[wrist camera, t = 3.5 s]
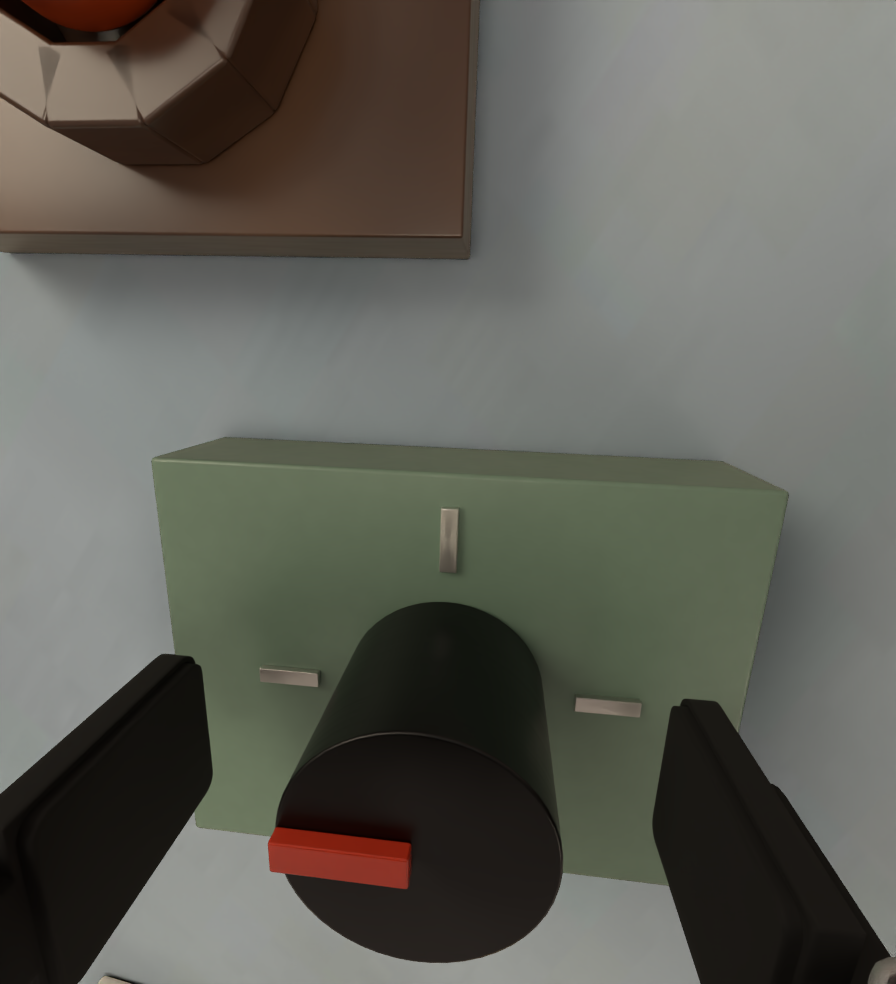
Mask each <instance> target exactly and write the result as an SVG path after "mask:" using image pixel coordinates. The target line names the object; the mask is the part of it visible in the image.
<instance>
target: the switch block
mask: <svg viewBox="0 0 896 984" xmlns="http://www.w3.org/2000/svg"><path fill="white" fill-rule="evenodd" d="M479 10H480V0H159V1H158V2H157V3H156V4H155V5H154V6H153V7H152V8H151V9H150V10H149V11H148V12H147V13H146V14H144V15H143V16H141V17H140V18H139V19H137V20H136V21H134V22H132V23H130V24H128V25H126V26H124V27H121V28H117V29H114V30H111V31H102V32H87V31H80V30H75V29H70V28H67V27H64V26H61V25H59V24H56V23H54V22H52V21H50V20H48V19H47V18H45V17H43V16H41V15H40V14H39V13H37V12H36V11H35V10H33V9H32V8H31V7H29V6H28V5H26V4H25V3H24V2H22V1H21V0H0V252H5V253H71V254H144V255H216V256H289V257H361V258H434V259H468V258H469V257H470V244H471V218H472V192H473V166H474V140H475V114H476V88H477V62H478V36H479Z"/></svg>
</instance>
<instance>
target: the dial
mask: <svg viewBox="0 0 896 984" xmlns="http://www.w3.org/2000/svg"><path fill="white" fill-rule="evenodd" d="M268 852H269V865H270V871H271V872H277V873H285V875H286V877H287V879H288V882H289V883H290V885H291V886H292V888H293V889H294V891H295V893H296V894H297V895H298V897H299V898H300V899H301V900H302V902H303V903H304V904H305V905H306V906H307V908H308V909H309V910H310V911H311V912H313V913H314V914H315V915H316V916H317V917H318V918H319V919H320V920H321V921H322V922H324V923H325V924H326V925H327V926H329V927H330V928H331V929H333V930H334V931H336V932H337V933H339V934H340V935H342V936H344V937H345V938H347V939H349V940H351V941H353V942H355V943H357V944H359V945H361V946H363V947H365V948H368V949H370V950H373V951H375V952H378V953H381V954H384V955H388V956H391V957H395V958H399V959H404V960H410V961H417V962H427V963H450V962H460V961H467V960H472V959H477V958H481V957H484V956H487V955H490V954H493V953H496V952H499V951H501V950H503V949H505V948H507V947H509V946H511V945H513V944H514V943H516V942H518V941H519V940H521V939H522V938H524V937H525V936H526V935H527V934H529V933H530V932H531V931H532V930H533V929H534V928H535V927H537V925H538V924H539V923H540V922H541V921H542V919H543V918H544V917H545V916H546V914H547V913H548V911H549V909H550V908H551V906H552V905H553V903H554V900H555V898H556V895H557V893H558V890H559V888H560V883H561V878H562V874H563V849H562V841H561V833H560V825H559V817H558V808H557V800H556V792H555V784H554V776H553V768H552V759H551V751H550V743H549V735H548V727H547V718H546V710H545V702H544V694H543V686H542V679H541V675H540V671H539V668H538V665H537V663H536V661H535V659H534V656H533V654H532V653H531V651H530V650H529V648H528V647H527V645H526V644H525V643H524V641H523V640H522V639H521V638H520V637H519V636H518V634H516V633H515V632H514V631H513V630H512V629H511V628H510V627H509V626H508V625H506V624H505V623H503V622H502V621H500V620H499V619H498V618H496V617H494V616H492V615H490V614H488V613H487V612H484V611H482V610H479V609H477V608H474V607H471V606H467V605H463V604H458V603H451V602H427V603H419V604H415V605H411V606H407V607H404V608H402V609H399V610H396V611H394V612H393V613H391V614H389V615H387V616H385V617H384V618H382V619H381V620H380V621H378V622H377V623H376V624H375V625H373V626H372V627H371V628H370V629H369V630H368V631H367V633H366V634H365V635H364V636H363V638H362V639H361V640H360V642H359V644H358V646H357V648H356V649H355V651H354V653H353V655H352V657H351V659H350V661H349V663H348V665H347V667H346V669H345V671H344V673H343V675H342V677H341V679H340V681H339V683H338V685H337V687H336V689H335V691H334V693H333V695H332V697H331V699H330V701H329V703H328V705H327V707H326V709H325V711H324V713H323V715H322V717H321V719H320V721H319V723H318V725H317V727H316V729H315V731H314V733H313V735H312V737H311V739H310V741H309V742H308V744H307V746H306V748H305V750H304V752H303V754H302V756H301V758H300V760H299V762H298V764H297V766H296V768H295V770H294V772H293V774H292V776H291V778H290V780H289V782H288V784H287V786H286V788H285V790H284V792H283V794H282V797H281V800H280V803H279V806H278V810H277V815H276V821H275V830H274V832H273V834H272V836H271V838H270V840H269V842H268Z"/></svg>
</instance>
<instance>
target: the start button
mask: <svg viewBox="0 0 896 984" xmlns="http://www.w3.org/2000/svg"><path fill="white" fill-rule="evenodd" d="M21 1H22V2H24V3H25V4H26V5H28V6H29V7H31V8H32V9H33V10H35V11H36V12H37V13H39V14H40V15H41V16H43V17H45V18H47V19H48V20H50V21H52V22H54V23H56V24H59V25H61V26H64V27H67V28H70V29H75V30H80V31H87V32H102V31H111V30H114V29H117V28H121V27H124V26H126V25H128V24H130V23H132V22H134V21H136V20H137V19H139V18H140V17H141V16H143V15H144V14H146V13H147V12H148V11H149V10H150V9H151V8H152V7H153V6H154V5H155V4H156V3H157V2H158V1H159V0H21Z"/></svg>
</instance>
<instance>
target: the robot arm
mask: <svg viewBox="0 0 896 984" xmlns="http://www.w3.org/2000/svg"><path fill="white" fill-rule="evenodd" d="M212 777H213V766H212V757H211V748H210V738H209V729H208V720H207V711H206V701H205V692H204V683H203V674H202V668H201V666H200V665H198V664H196V663H195V660H194V659H193V657H191V656H184V655H173V654H161V655H160V656H158V657H157V658H155V659H154V660H153V661H152V662H151V663H150V664H149V665H147V666H146V667H145V668H144V669H143V670H142V671H141V672H139V673H138V674H137V675H136V676H135V677H134V678H133V679H131V680H130V681H129V682H128V683H127V684H126V685H125V686H123V687H122V688H121V689H120V690H119V691H118V692H117V693H115V694H114V695H113V696H112V697H111V698H110V699H109V700H107V701H106V702H105V703H104V704H103V705H102V706H101V707H99V708H98V709H97V710H96V711H95V712H94V713H93V714H91V715H90V716H89V717H88V718H87V719H86V720H85V721H83V722H82V723H81V724H80V725H79V726H78V727H77V728H75V729H74V730H73V731H72V732H71V733H70V734H69V735H67V736H66V737H65V738H64V739H63V740H62V741H61V742H59V743H58V744H57V745H56V746H55V747H54V748H53V749H51V750H50V751H49V752H48V753H47V754H46V755H45V756H43V757H42V758H41V759H40V760H39V761H38V762H37V763H35V764H34V765H33V766H32V767H31V768H30V769H29V770H27V771H26V772H25V773H24V774H23V775H22V776H21V777H19V778H18V779H17V780H16V781H15V782H14V783H13V784H11V785H10V786H9V787H8V788H7V789H6V790H5V791H3V792H2V793H1V794H0V984H77V983H78V982H80V980H81V979H82V978H83V976H84V975H85V974H86V972H87V971H88V969H89V968H90V966H91V965H92V963H93V962H94V960H95V959H96V957H97V956H98V954H99V953H100V951H101V950H102V948H103V947H104V945H105V944H106V942H107V941H108V939H109V938H110V936H111V935H112V933H113V932H114V930H115V929H116V927H117V926H118V924H119V923H120V921H121V920H122V918H123V917H124V915H125V914H126V912H127V911H128V909H129V908H130V907H131V905H132V904H133V902H134V901H135V899H136V898H137V896H138V895H139V893H140V892H141V890H142V889H143V887H144V886H145V884H146V883H147V881H148V880H149V878H150V877H151V875H152V874H153V872H154V871H155V869H156V868H157V866H158V865H159V863H160V862H161V860H162V859H163V857H164V856H165V854H166V853H167V851H168V850H169V848H170V847H171V845H172V844H173V842H174V841H175V839H176V838H177V836H178V835H179V834H180V832H181V831H182V829H183V828H184V826H185V825H186V823H187V822H188V820H189V819H190V817H191V816H192V814H193V813H194V811H195V810H196V808H197V807H198V805H199V804H200V802H201V801H202V799H203V798H204V796H205V795H206V793H207V791H208V790H209V787H210V785H211V782H212ZM652 829H653V836H654V840H655V844H656V847H657V850H658V853H659V856H660V859H661V863H662V866H663V869H664V872H665V875H666V878H667V881H668V884H669V887H670V890H671V893H672V897H673V900H674V903H675V906H676V909H677V912H678V915H679V918H680V921H681V924H682V927H683V931H684V934H685V937H686V940H687V943H688V946H689V949H690V952H691V955H692V958H693V961H694V965H695V968H696V971H697V974H698V977H699V980H700V983H701V984H896V957H891V956H890V954H889V953H888V951H887V950H886V948H885V947H884V945H883V944H882V942H881V941H880V939H879V938H878V936H877V935H876V933H875V932H874V930H873V929H872V927H871V926H870V924H869V922H868V921H867V919H866V918H865V916H864V915H863V913H862V912H861V910H860V909H859V907H858V906H857V904H856V903H855V901H854V900H853V898H852V897H851V895H850V894H849V892H848V890H847V889H846V887H845V886H844V884H843V883H842V881H841V880H840V878H839V877H838V875H837V874H836V872H835V871H834V869H833V868H832V866H831V865H830V863H829V862H828V860H827V858H826V857H825V855H824V854H823V852H822V851H821V849H820V848H819V846H818V845H817V843H816V842H815V840H814V839H813V837H812V836H811V834H810V833H809V831H808V830H807V828H806V826H805V825H804V823H803V822H802V820H801V819H800V817H799V816H798V814H797V813H796V811H795V810H794V808H793V807H792V805H791V804H790V802H789V801H788V799H787V797H786V796H785V795H784V794H783V792H782V791H781V790H780V789H779V788H778V787H777V786H775V785H773V784H770V782H769V781H768V779H767V778H766V776H765V775H764V773H763V771H762V770H761V768H760V767H759V765H758V764H757V762H756V760H755V759H754V757H753V756H752V754H751V753H750V751H749V750H748V748H747V746H746V745H745V743H744V742H743V740H742V739H741V737H740V735H739V734H738V732H737V731H736V729H735V728H734V726H733V724H732V723H731V721H730V720H729V718H728V717H727V715H726V714H725V712H724V710H723V709H722V707H721V706H720V705H719V703H718V702H716V701H709V700H697V699H686V698H685V699H683V700H682V702H681V704H680V706H673V707H672V708H671V711H670V716H669V722H668V728H667V734H666V740H665V746H664V752H663V758H662V764H661V770H660V776H659V782H658V787H657V793H656V799H655V805H654V811H653V818H652Z"/></svg>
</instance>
